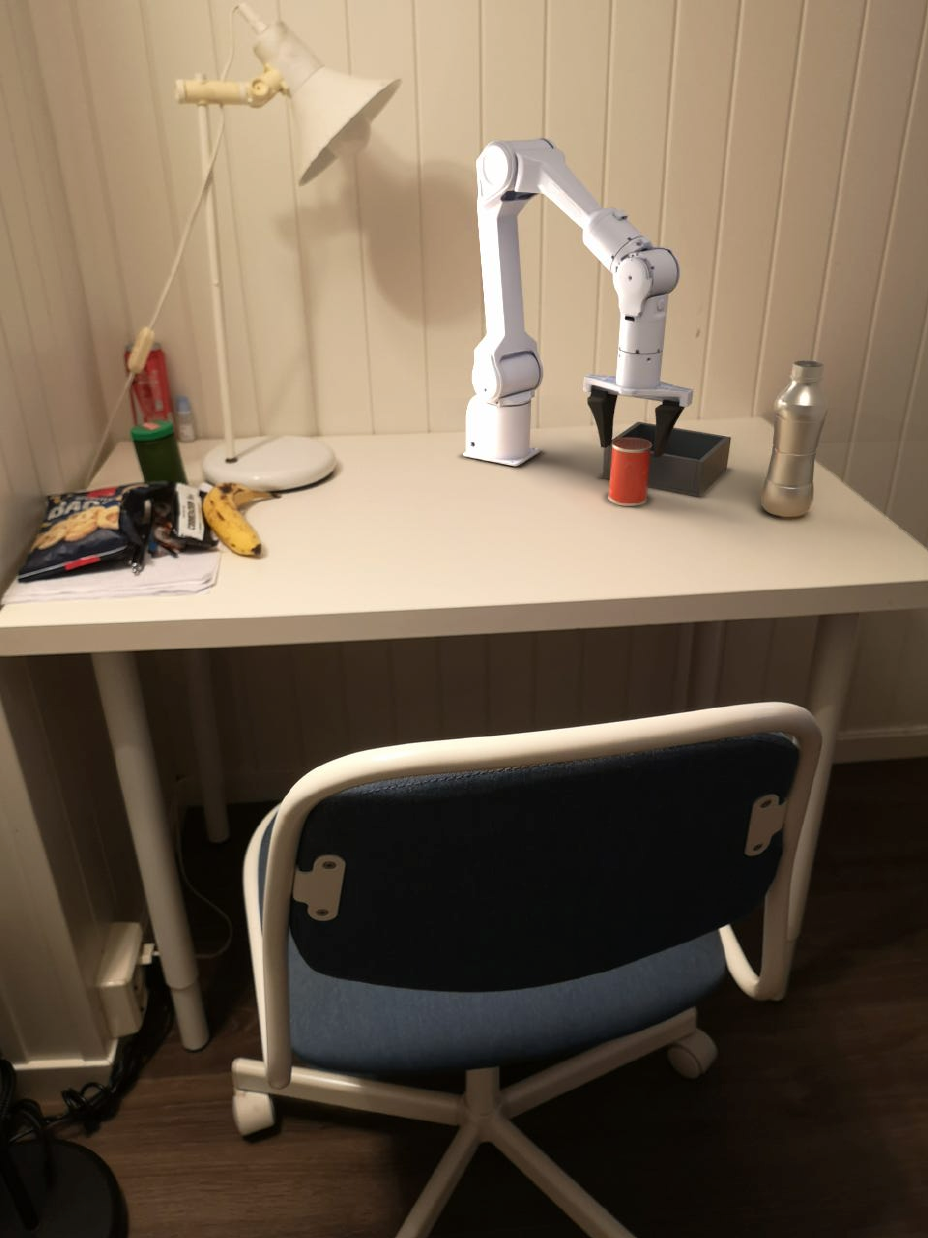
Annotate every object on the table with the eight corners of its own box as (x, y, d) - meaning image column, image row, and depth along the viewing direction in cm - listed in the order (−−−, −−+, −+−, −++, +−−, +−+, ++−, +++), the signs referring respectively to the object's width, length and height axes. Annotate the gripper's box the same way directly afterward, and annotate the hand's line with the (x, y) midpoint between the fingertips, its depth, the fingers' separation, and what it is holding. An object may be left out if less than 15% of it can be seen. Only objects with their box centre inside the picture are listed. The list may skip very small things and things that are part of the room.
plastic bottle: (812, 524, 128) (840, 371, 118) (758, 520, 129) (782, 369, 119) (807, 505, 133) (834, 358, 123) (756, 502, 134) (778, 356, 125)
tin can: (601, 501, 135) (605, 445, 131) (617, 489, 139) (621, 434, 135) (637, 509, 132) (643, 452, 128) (652, 496, 136) (657, 441, 132)
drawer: (602, 477, 143) (604, 444, 140) (635, 453, 152) (637, 421, 150) (698, 497, 136) (703, 462, 134) (726, 469, 146) (731, 436, 143)
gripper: (576, 348, 126) (570, 449, 132) (684, 362, 119) (672, 468, 126) (598, 337, 131) (592, 435, 138) (703, 350, 125) (691, 452, 131)
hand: (632, 450), depth 132 cm, fingers open, 7 cm apart
